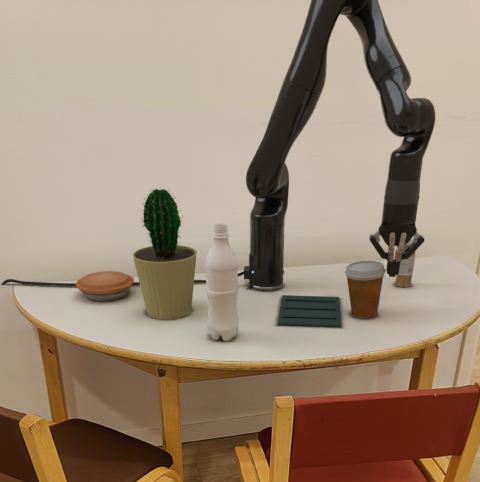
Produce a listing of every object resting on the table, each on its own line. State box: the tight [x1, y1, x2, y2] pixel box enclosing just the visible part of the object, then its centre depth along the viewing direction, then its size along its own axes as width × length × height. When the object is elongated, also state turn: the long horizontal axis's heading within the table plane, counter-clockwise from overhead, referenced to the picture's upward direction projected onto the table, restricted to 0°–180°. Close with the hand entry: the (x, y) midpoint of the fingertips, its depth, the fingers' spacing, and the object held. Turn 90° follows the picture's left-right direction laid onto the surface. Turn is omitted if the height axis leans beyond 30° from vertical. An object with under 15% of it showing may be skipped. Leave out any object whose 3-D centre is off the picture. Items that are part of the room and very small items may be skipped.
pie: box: [74, 270, 135, 302], centre depth 162 cm, size 15×16×5 cm
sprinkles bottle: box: [394, 236, 416, 288], centre depth 164 cm, size 5×5×13 cm
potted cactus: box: [132, 188, 198, 320], centre depth 144 cm, size 15×15×30 cm
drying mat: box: [277, 294, 342, 329], centre depth 151 cm, size 15×20×1 cm
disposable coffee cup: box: [344, 260, 387, 319], centre depth 146 cm, size 10×10×12 cm
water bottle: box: [204, 223, 240, 342], centre depth 131 cm, size 7×7×25 cm
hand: (391, 275), depth 143 cm, fingers closed
